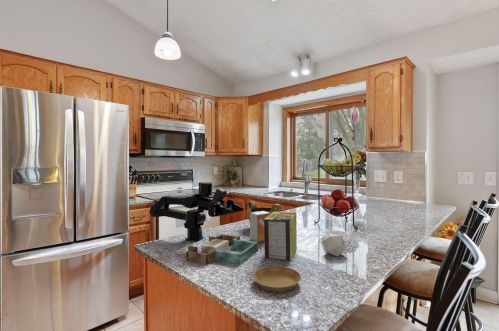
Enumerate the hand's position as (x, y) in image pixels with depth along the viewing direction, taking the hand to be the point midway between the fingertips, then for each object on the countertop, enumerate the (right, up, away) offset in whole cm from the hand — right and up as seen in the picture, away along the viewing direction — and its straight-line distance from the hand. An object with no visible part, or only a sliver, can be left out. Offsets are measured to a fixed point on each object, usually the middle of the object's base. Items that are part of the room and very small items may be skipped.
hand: (238, 210), depth 117 cm
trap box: (-6, -16, -8) cm, 19 cm away
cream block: (-9, -17, -6) cm, 20 cm away
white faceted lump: (+39, -16, -11) cm, 43 cm away
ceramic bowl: (+13, -16, +30) cm, 36 cm away
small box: (+10, -16, +10) cm, 22 cm away
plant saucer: (+13, -17, -35) cm, 41 cm away
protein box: (+18, -16, -9) cm, 26 cm away
